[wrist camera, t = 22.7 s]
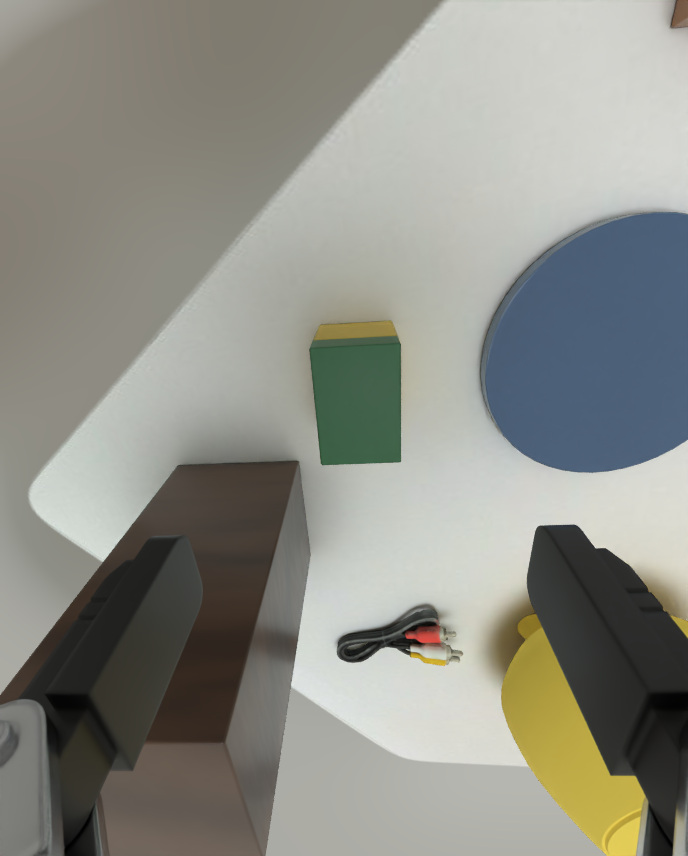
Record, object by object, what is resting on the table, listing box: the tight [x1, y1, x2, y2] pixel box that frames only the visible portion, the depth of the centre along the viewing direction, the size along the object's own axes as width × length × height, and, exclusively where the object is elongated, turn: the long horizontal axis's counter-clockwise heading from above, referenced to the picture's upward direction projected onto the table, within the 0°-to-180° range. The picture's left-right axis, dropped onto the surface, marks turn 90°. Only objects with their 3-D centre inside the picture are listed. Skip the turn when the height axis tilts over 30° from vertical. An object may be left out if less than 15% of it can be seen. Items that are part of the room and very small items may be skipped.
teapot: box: [501, 614, 688, 856], centre depth 27 cm, size 20×16×14 cm
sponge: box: [309, 321, 401, 465], centre depth 21 cm, size 6×4×5 cm, turn 4°
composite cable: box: [337, 610, 463, 666], centre depth 32 cm, size 10×5×2 cm, turn 102°
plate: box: [481, 212, 688, 473], centre depth 22 cm, size 14×14×1 cm
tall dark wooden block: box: [0, 461, 311, 856], centre depth 21 cm, size 8×8×16 cm
